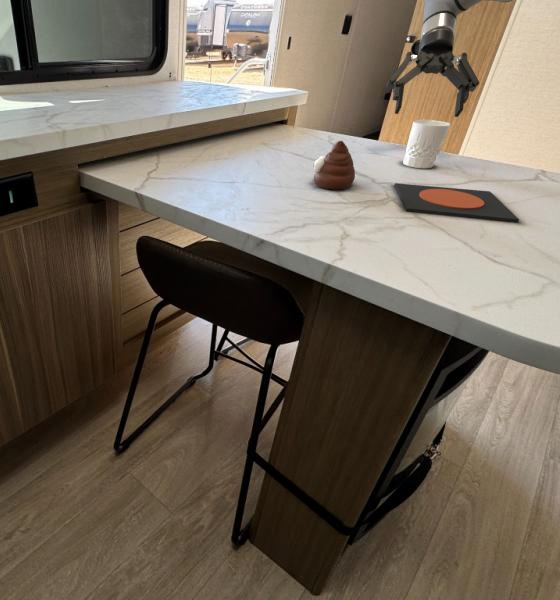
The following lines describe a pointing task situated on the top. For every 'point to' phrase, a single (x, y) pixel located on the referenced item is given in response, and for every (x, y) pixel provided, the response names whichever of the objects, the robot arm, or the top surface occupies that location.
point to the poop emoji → (335, 168)
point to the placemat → (453, 202)
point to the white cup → (425, 143)
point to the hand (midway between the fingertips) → (427, 112)
